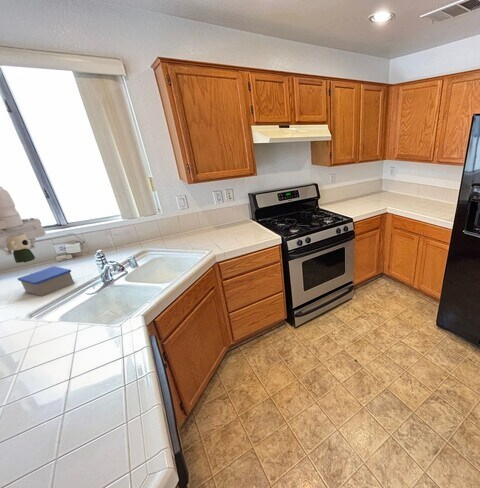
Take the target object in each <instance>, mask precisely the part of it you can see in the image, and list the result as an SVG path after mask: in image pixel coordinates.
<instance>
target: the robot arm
mask: <svg viewBox="0 0 480 488" xmlns="http://www.w3.org/2000/svg"><path fill="white" fill-rule="evenodd" d="M22 234H26V236H27V239H28V241H29V242H30V245H31V246H30V247H28V249H30V250H33V249H36V241H37V238H42V237H45V236H46V234H47V233H46V230H45V228H44V227H43V226H42V222H41V219H40V218H38V217H34V216H33V217H29V218H22V217H21V214H20V212H19V211H18V210H17V209H16V204H15V201H14V199H13V198H12V196H11V194H10V192H9V191H8V190H7V189H6V188H5V187H3V186H0V251H2V252H4V254H5V255H6V256H11V255H13V252H12V251H10V250H8V249H7V248H6V245H9V242H8V240H7V238H8V237H15V236H19V235H22Z"/></svg>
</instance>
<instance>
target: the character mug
mask: <svg viewBox="0 0 480 488" xmlns="http://www.w3.org/2000/svg"><path fill="white" fill-rule="evenodd" d="M7 240H8V242H9V245H5V248H6V250H10V251H11V252H12V255H13V258H14V261H15V263H16V264H20V263H27V262H32V261H34V260H35V259H36V256H35V255H34V253H33V252H32V251H31V249H30V248H29V247H30V246H31V245H30V243H31V241H29V240H28V239H27V236H26V234H22V235H19V236H15V237H8V238H7Z"/></svg>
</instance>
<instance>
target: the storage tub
mask: <svg viewBox="0 0 480 488" xmlns="http://www.w3.org/2000/svg"><path fill="white" fill-rule="evenodd" d="M71 272H72V270H71V269H69V268H63V267H60V266H59V267H58V266H51V267H47V268H44V269H41V270H37V271H35V272H33V273H29V274H27V275H24V276H21V277H20V276H19V277H18V278H17V281H19V282H20V283H21V285H22V286H23V287H22V288H23V289H24V291H25V292H26V293H28V294H32V295H37V296H40V297H44V296H47V295H48V294H52V293H53V292H57V291H58V290H61V289H63V288H66V287H68V286H71V285H73V284H75V281H74V279H73V276H72V274H71Z"/></svg>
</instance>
